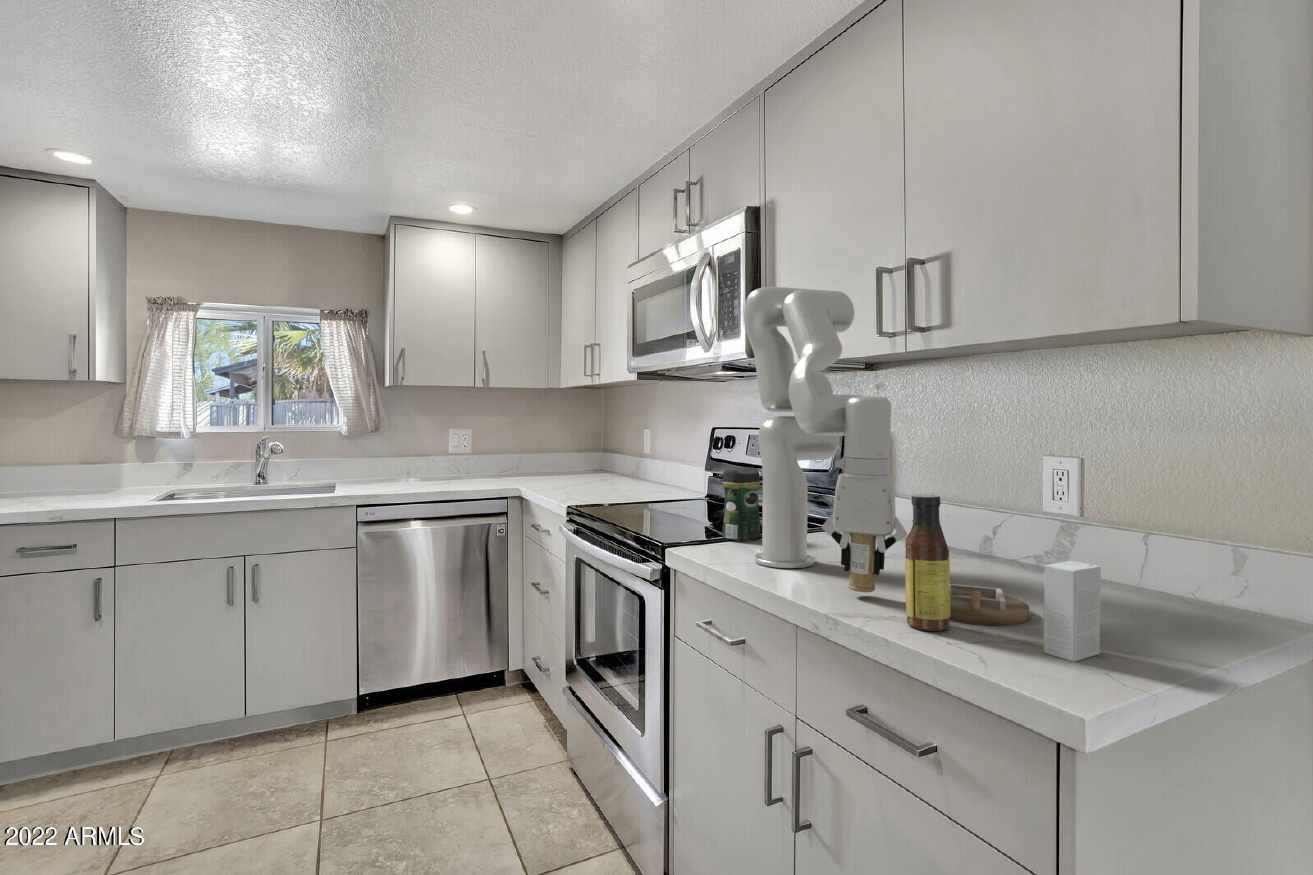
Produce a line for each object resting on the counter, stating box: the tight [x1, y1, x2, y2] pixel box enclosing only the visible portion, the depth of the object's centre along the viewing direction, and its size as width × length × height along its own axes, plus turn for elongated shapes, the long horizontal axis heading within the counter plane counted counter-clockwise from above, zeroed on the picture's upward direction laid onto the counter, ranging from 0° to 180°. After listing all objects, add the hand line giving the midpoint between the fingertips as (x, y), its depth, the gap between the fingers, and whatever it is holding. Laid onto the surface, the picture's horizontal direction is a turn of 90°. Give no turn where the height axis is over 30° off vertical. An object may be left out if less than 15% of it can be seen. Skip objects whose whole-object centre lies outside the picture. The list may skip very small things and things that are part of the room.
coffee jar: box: [722, 466, 762, 542], centre depth 172 cm, size 10×8×19 cm
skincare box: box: [1043, 560, 1102, 663], centre depth 89 cm, size 6×4×12 cm
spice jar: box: [848, 533, 877, 594], centre depth 117 cm, size 5×5×14 cm
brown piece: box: [950, 583, 1031, 627], centre depth 109 cm, size 16×16×4 cm
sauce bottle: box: [904, 493, 951, 632], centre depth 101 cm, size 7×6×20 cm
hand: (862, 570), depth 117 cm, fingers closed on spice jar, 4 cm apart
